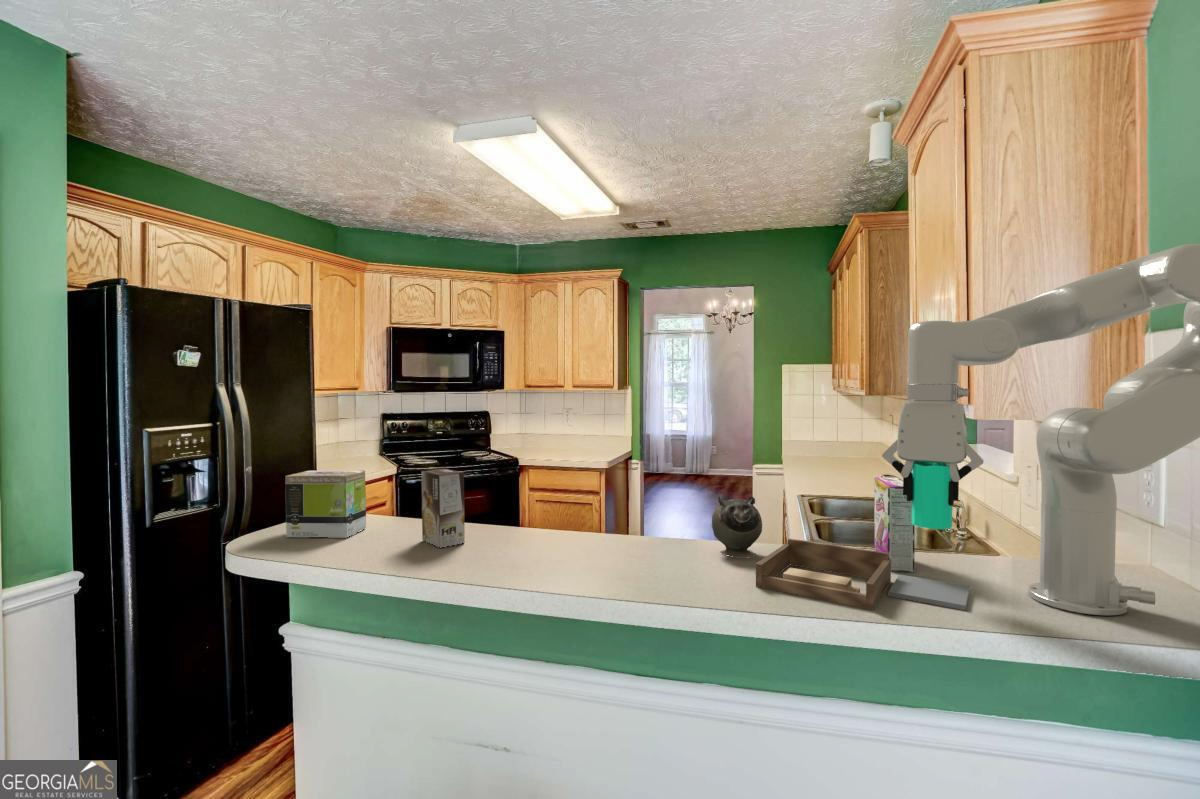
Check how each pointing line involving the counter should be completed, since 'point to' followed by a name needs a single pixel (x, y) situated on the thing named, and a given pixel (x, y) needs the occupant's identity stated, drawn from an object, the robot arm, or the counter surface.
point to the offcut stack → (820, 579)
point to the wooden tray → (828, 560)
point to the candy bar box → (893, 524)
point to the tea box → (325, 503)
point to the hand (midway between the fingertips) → (930, 501)
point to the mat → (931, 591)
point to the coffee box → (443, 507)
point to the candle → (931, 495)
